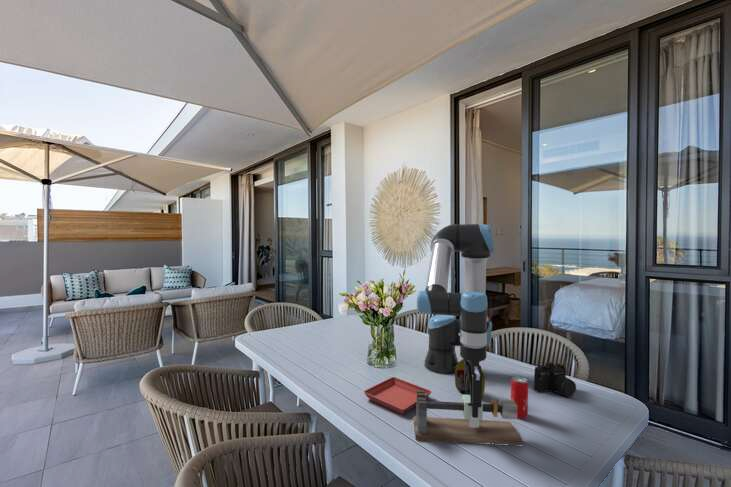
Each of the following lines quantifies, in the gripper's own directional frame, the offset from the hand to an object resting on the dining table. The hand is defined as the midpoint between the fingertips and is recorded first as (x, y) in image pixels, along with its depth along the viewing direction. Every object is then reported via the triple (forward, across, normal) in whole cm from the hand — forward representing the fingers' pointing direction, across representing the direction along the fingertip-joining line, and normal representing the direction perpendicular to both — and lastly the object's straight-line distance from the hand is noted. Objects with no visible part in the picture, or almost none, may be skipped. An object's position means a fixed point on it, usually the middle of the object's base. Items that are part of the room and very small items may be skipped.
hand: (471, 421), depth 101 cm
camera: (+4, -31, +38) cm, 49 cm away
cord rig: (+4, 0, -2) cm, 4 cm away
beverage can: (+4, -12, +18) cm, 22 cm away
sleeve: (-2, 0, 0) cm, 2 cm away
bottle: (+4, -26, +5) cm, 27 cm away
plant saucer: (+4, -19, -22) cm, 29 cm away
